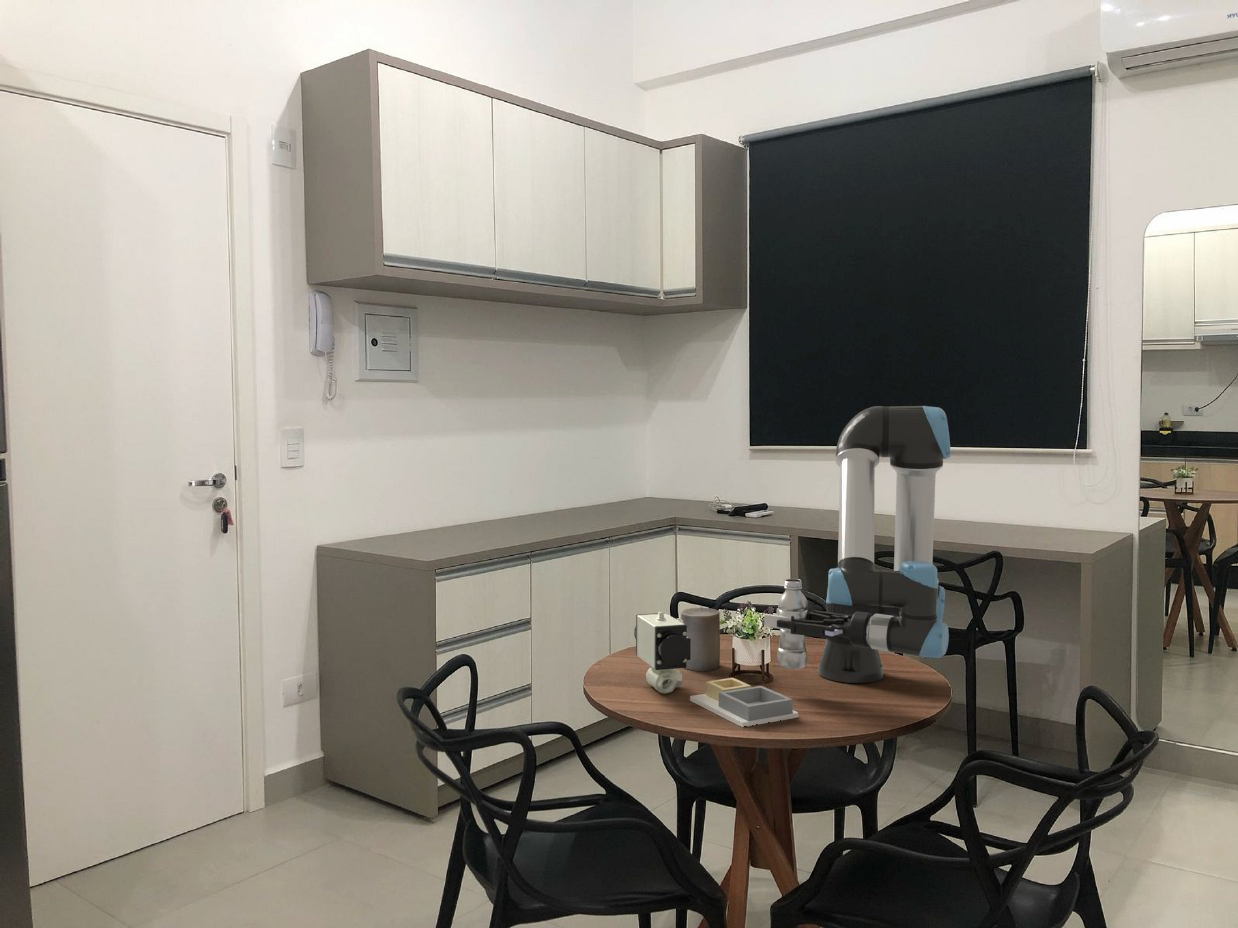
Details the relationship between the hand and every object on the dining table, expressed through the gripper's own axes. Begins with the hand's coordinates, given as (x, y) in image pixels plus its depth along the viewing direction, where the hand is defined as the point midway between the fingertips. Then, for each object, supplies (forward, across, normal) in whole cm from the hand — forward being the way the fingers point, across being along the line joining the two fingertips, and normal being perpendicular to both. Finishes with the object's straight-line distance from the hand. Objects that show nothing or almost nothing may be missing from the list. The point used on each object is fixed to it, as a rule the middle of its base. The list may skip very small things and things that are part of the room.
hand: (771, 617), depth 222 cm
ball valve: (+21, -13, -17) cm, 30 cm away
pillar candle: (+23, +9, -18) cm, 30 cm away
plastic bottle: (-5, 0, -11) cm, 12 cm away
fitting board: (-1, -16, -16) cm, 23 cm away
